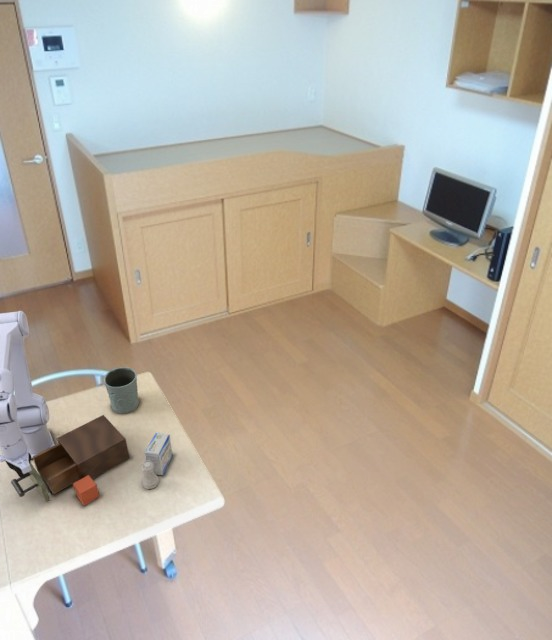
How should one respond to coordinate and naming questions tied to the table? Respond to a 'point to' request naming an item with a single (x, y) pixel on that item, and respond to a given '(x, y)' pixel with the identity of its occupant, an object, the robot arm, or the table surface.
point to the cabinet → (95, 447)
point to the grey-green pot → (122, 389)
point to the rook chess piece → (149, 475)
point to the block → (86, 490)
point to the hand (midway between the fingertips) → (24, 475)
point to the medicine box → (159, 452)
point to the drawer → (50, 472)
